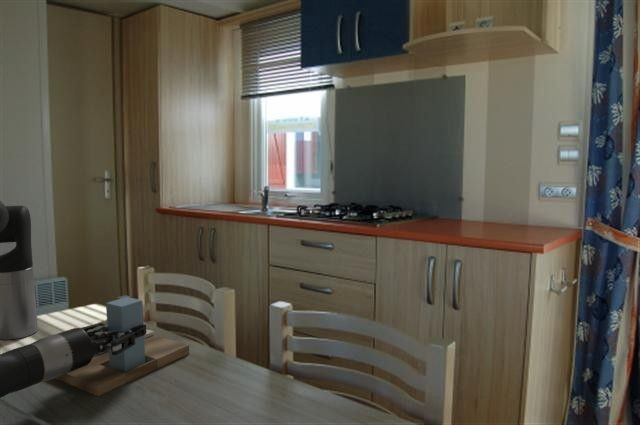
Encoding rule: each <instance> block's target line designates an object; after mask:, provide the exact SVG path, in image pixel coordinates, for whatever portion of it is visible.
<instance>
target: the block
mask: <svg viewBox="0 0 640 425" xmlns="http://www.w3.org/2000/svg"><path fill="white" fill-rule="evenodd" d="M105 306H106V307H105V309H106V324H107V326H108V331H112V330H118V331H124V330H127V329H131V328H133V327H136V326H139V325H142V324H144V313H143V312H144V311H143V300H142V299H138V298H133V297H132V298H129V297H125V298H121V299H118V300H117V299H115V300H111V301H109V302H106V303H105ZM124 335H125V334H124ZM112 336H113V340H114V339H115V335H112ZM121 336H123V335H121ZM121 336H120V337H121ZM109 361H110V369H113V370H116V371H119V372H122V373H125V372H127V371H129V370H131V369H134V368H136V367H138V366H140V365H143V364H145V345H144V335H143V336H141V337H138V338H136V339H135V345H133V346H132V347H130V348H128V349H126V350H124V351H123V352H121V353H119V354H117V355H112V351H110V350H109Z"/></svg>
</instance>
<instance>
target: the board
mask: <svg viewBox="0 0 640 425" xmlns="http://www.w3.org/2000/svg"><path fill="white" fill-rule="evenodd" d="M144 345H145V364H143V365H140V366H138V367H136V368H134V369H131V370H129V371H127V372H125V373H122V372H119V371H116V370H113V369H110V361H109V350H107V351H106V352H104V353H99V354H95V355H94V356H93V358H92V360H91V362H90V363H89V364H88V365H86V366H84V367H81V368H79V369H76V370H74V371H71V372H69V373H66V374H64V375H61V376H59V377H56V378H54V379H56V380H58V381H60V382H63V383H65V384H66V385H70V386H73V387H75V388H77V389H79V390H82V391H84V392H87V393H89V394H92V395H95V396H96V397H99V396H101V395H104V394H106V393H108V392H110V391H112V390H114V389H117V388H119V387H121V386H123V385H126V384H127V383H130V382H131V381H134V380H136V379H138V378H140V377H142V376H145V375H146V374H149V373H150V372H152V371H155V370H157V369H159V368H161V367H164V366H165V365H168V364H170V363H172V362H175V361H177V360H178V359H180V358H183V357H185V356H188V355H190V345H189V344H187V343H183V342H179V341H176V340H173V339H170V338H166V337H162V336H158V335H155V334H154V335H152V336H149V337H147V338H144Z"/></svg>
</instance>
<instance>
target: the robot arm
mask: <svg viewBox="0 0 640 425" xmlns="http://www.w3.org/2000/svg"><path fill="white" fill-rule="evenodd" d="M31 219H32V218H31V214H30V210H29V209H28V207H27V206H25V205H5V203H3V202H2V201H1V200H0V244H4V243H16V244H15V247H14V248H12V249H11V250H10V251H8V252H6V253H3V254H1V255H0V340H8V341H9V340H15V339H16V340H17V339H21V338H25V337H28V336H29V337H30V336H31V335H33V334H36V333H37V332H38V330H39V327H38V315H37V303H36V302H37V299H36V289H35V288H36V287H35V277H34V276H35V275H34V266H33V265H34V264H33V252H32V249H33V248H32V220H31ZM104 324H106V325H104ZM146 329H147V325H146V324H144V323H143V324H142V325H139V326H136V327H133V328H131V329H127V330H124V331H118V330H112V331H108V326H107V323H103V322H99V323H96V324H91V325H87V326H83V327H74V328H70V329H67V330H65V331H61V332H59V333H55V334H52V335H48V336H44V337H42V338H40V339H37V340H35V341H33V342H31V343H29V344H25V345H23V346H20V347H16V348H12V349H10V350H7V351H5V352H3V353H1V354H0V399H1V398H4V397H5V396H7V395H8V394H12V393H13V394H14V393H16V392H19V391H22V390H25V389H28V388H30V387H32V386H35V385H36V384H39V383H43V382H46V381H50V380H53V379H55V378H56V377H59V376H61V375H64V374H66V373H69V372H71V371H74V370H76V369H79V368H81V367H84V366H86V365H88V364H89V363H90V362H91V360H92V358H93V356H94V355H95V354H99V353H104V352H106V351H107V350H110V351H112V355H117V354H119V353H121V352H123V351H124V350H126V349H128V348H130V347H132V346H133V345H135V339H136V338H138V337H141V336H143V335H145V334H146ZM124 334H125V335H124ZM112 335H115V339H114V340H113V336H112ZM121 335H123V336H121ZM120 336H121V337H120Z"/></svg>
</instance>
